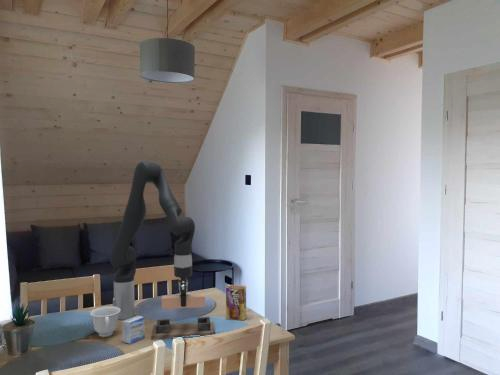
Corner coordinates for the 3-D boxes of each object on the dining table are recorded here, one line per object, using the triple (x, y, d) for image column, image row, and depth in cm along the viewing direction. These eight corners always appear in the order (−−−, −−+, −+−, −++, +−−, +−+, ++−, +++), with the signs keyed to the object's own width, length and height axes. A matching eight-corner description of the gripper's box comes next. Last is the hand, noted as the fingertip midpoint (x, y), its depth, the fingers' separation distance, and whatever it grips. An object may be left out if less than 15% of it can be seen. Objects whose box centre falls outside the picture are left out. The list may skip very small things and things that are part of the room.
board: (151, 339, 167) (151, 328, 167) (153, 328, 179) (153, 318, 179) (215, 335, 171) (214, 325, 170) (213, 325, 183) (213, 315, 182)
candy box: (246, 317, 192) (246, 285, 192) (244, 320, 188) (244, 287, 187) (228, 315, 194) (228, 284, 193) (225, 319, 190) (225, 286, 189)
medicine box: (130, 344, 162) (129, 323, 162) (122, 342, 165) (122, 320, 164) (144, 337, 169) (144, 316, 169) (137, 335, 171) (137, 314, 171)
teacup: (91, 345, 162) (91, 320, 161) (90, 331, 176) (89, 308, 175) (123, 339, 167) (122, 315, 166) (119, 327, 180) (118, 304, 180)
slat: (161, 309, 171) (161, 298, 171) (162, 306, 175) (162, 295, 175) (205, 306, 174) (205, 296, 174) (204, 303, 178) (204, 293, 177)
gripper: (174, 261, 180) (175, 300, 181) (173, 269, 166) (174, 310, 167) (191, 260, 181) (192, 299, 182) (192, 268, 167) (192, 309, 168)
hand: (183, 304), depth 174 cm, fingers closed on slat, 4 cm apart
